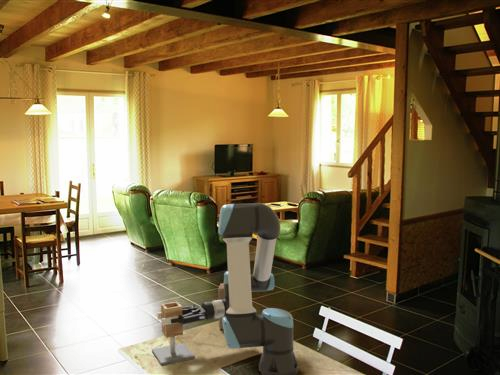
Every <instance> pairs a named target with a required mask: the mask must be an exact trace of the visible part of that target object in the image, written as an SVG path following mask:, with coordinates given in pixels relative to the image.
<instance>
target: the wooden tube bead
mask: <svg viewBox="0 0 500 375" xmlns="http://www.w3.org/2000/svg"><path fill="white" fill-rule="evenodd" d="M182 307H183V306H182V305H181V304H180V303H179V302H178V301H172V302H166V303H165V302H164V303H161V304H160V312H161V318H168V317H174V316H178V318H179V315H181V316H183V315H182ZM183 327H184V324H182V323H179V322H178V323H175V324H169V325H162V324H161V332H162V334H163V335H164V336H165V338H166V339H168V338H170V337H173V336H175V337H177V336H182V335H184V328H183Z"/></svg>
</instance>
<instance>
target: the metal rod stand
mask: <svg viewBox="0 0 500 375" xmlns="http://www.w3.org/2000/svg"><path fill="white" fill-rule="evenodd" d="M151 352H152V354H153V353H154V354H153V355H154V356H155V359H156V360H157V361H158V363H159V364H160V366H165V365H169V364H173V363H175V364H176V363H179V362H184V361H187V360H192V359H196V358H195V357H196V355H195V354H194V353H193V352H192V351H191V350H190V349H189V347H188V346H187V345H186V344H185V343H184V342H181V343H177V344H176V336H173V337H169V345H167V346H166V345H165V346H161V347H155V348H151Z"/></svg>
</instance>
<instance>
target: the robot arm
mask: <svg viewBox="0 0 500 375" xmlns="http://www.w3.org/2000/svg"><path fill="white" fill-rule="evenodd" d="M219 210H220V211H219V217H218V225H217V226H218V229H217V230H218V232H217V233H218V235H220V236H221V237H222V241H223V242H225V244H226V255H227V256H226V257H227V271H225V272H224V273H223V283H224V299H221V300H219V299H217V300H215V299H214V300H212V301H204V302H202V303H201V305H200V306H196V305H195V304H191V305H187V306H182V316H181V315H179V318H178V316H174V317H168V318H161V311H160V312H157V313H156V314H157V316H156V317H157V320H161V326H162V325H169V324H175V323H178V322H179V323H182V324H183V325H186V324H187V325H188V324H191V323H195V322H200V321H210V320H213V319H218V320H219V319H220V317H223V318H222V324H223V329H222V330H223V334H224V339H225V343H226V344H225V345H226V346H227V347H228V348H229V349H233V350H234V349H239V350H241V349H245V348H249V349H250V348H259V347H262V352H261V356H260V359H259V363H258V372H259V371H260V372H261V373H262V374H264V375H298V373H299V362H298V360H297V357H296V354H295V351H294V318H293V315H292V313H291V312H289V311H287V310H286V309H281V308H277V307H276V308H275V307H267V308H265V309H263V310H262V312H261V314H257V309H256V308H255V307H254V306H253V297H252V295H253V294H252V292H255V293H256V292H267V291H273V290H274V289H275V275H274V274H273V273H272V268H273V262H274V257H275V250H276V243H277V238H279V237H280V234H281V221H280V218H279V216H278V215H277V212H276V211H274V209H273V208H271V207H270V205H267V204H265V203H262V202H254V203H249V202H248V203H228V204H224V205H222V206H221V208H220V209H219ZM253 234H256V235H257V241H256V249H255V258H254V266H253V272H252V274H251V261H250V242H251V241H252V239H253V237H254V236H253Z"/></svg>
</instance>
